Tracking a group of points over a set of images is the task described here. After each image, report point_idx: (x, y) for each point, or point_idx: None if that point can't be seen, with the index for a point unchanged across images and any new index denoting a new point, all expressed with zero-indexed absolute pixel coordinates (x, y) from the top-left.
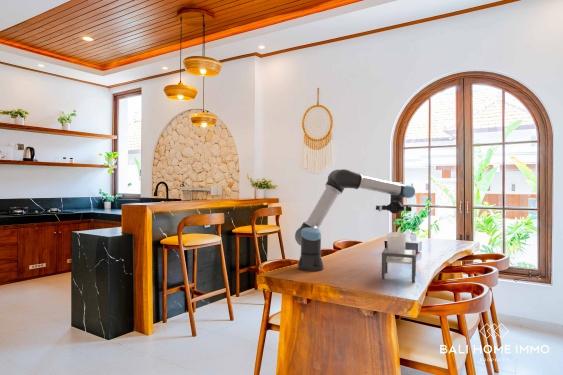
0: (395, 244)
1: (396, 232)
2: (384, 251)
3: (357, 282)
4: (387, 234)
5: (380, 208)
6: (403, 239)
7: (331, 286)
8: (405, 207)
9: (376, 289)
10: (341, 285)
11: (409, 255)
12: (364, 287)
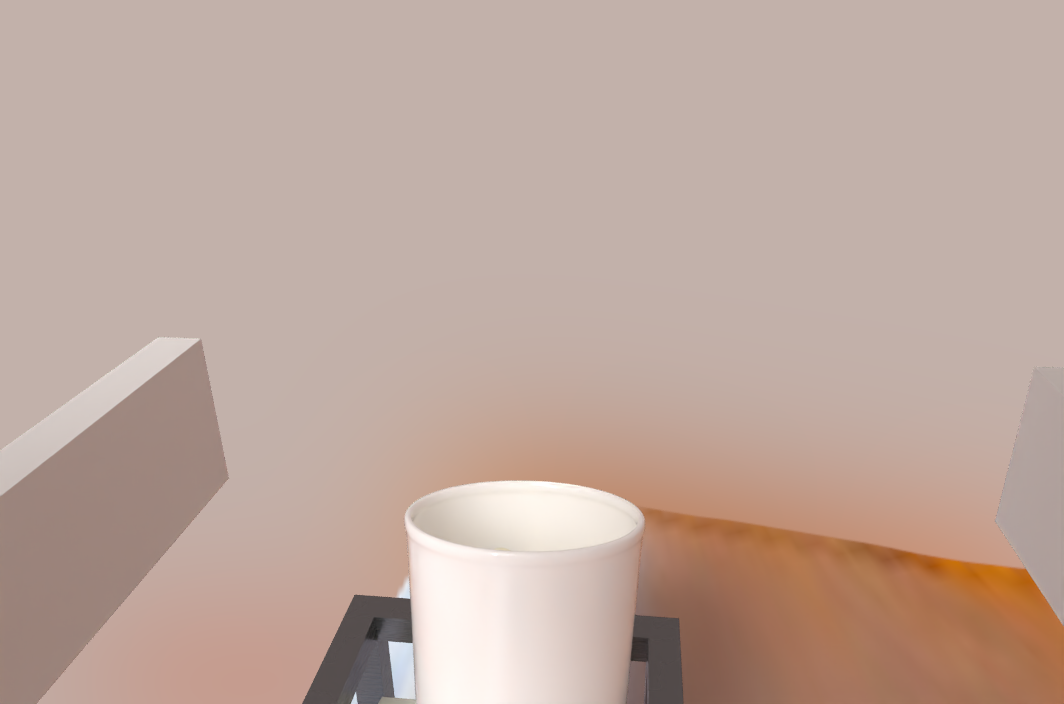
0: (540, 541)
1: (514, 554)
2: (664, 697)
3: (822, 674)
4: (639, 524)
5: (1025, 437)
6: (451, 496)
7: (926, 563)
8: (150, 352)
9: (661, 572)
10: (885, 591)
11: (407, 602)
12: (738, 588)
